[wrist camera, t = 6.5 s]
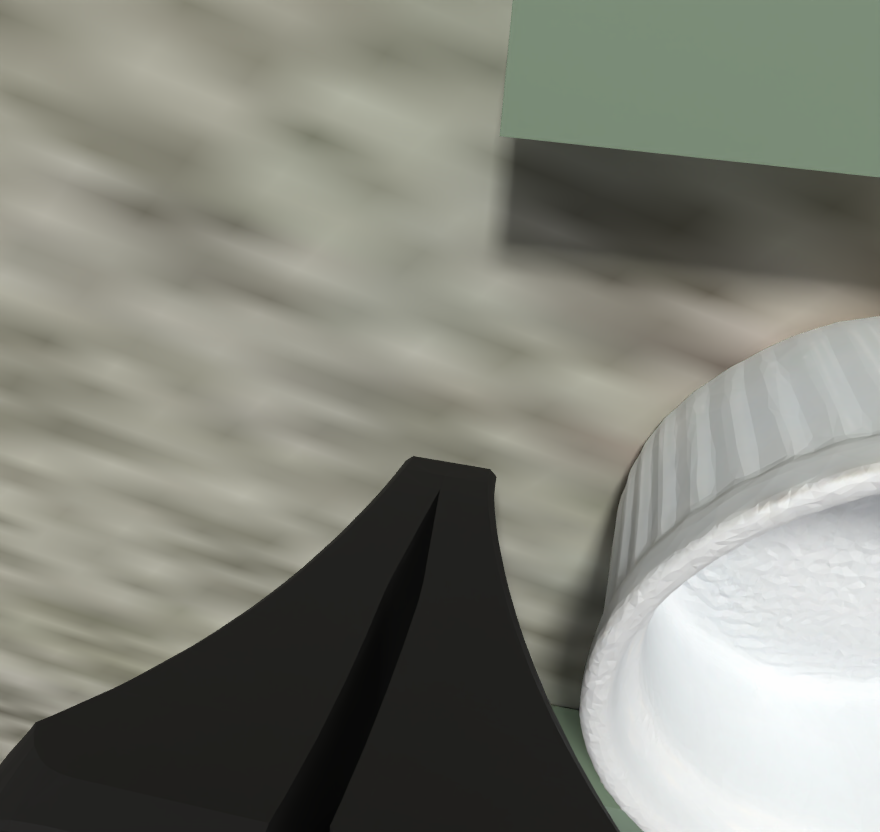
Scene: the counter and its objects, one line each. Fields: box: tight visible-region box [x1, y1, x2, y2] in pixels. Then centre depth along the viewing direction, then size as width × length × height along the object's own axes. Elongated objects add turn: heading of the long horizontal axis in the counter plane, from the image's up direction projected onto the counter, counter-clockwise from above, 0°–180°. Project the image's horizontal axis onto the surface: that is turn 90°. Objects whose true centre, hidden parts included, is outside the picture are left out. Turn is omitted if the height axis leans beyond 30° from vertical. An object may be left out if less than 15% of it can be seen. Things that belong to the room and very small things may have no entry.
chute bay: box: [500, 0, 880, 832], centre depth 12 cm, size 16×12×2 cm
